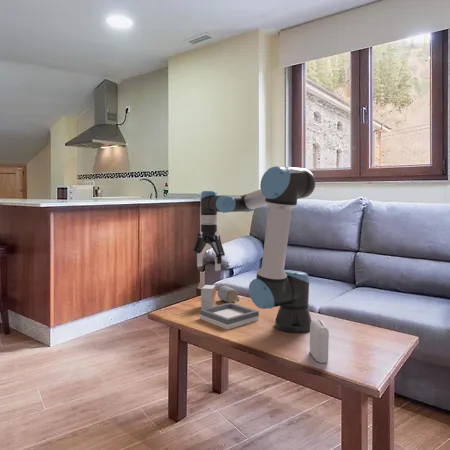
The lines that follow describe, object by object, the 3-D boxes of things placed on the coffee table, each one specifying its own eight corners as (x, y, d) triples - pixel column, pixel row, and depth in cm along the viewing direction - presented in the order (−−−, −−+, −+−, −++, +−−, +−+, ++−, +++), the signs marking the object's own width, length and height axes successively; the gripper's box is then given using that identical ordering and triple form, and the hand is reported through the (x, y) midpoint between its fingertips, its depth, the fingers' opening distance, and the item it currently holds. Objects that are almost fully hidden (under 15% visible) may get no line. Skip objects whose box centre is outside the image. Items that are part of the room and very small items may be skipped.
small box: (212, 311, 179) (212, 288, 178) (200, 310, 180) (201, 288, 179) (216, 306, 187) (216, 285, 186) (204, 305, 188) (204, 284, 187)
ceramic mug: (227, 304, 190) (227, 289, 189) (217, 300, 196) (217, 286, 196) (243, 301, 196) (243, 286, 196) (233, 298, 203) (233, 283, 202)
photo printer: (308, 350, 133) (308, 315, 132) (320, 350, 133) (321, 315, 132) (316, 363, 123) (317, 325, 122) (329, 363, 123) (330, 325, 122)
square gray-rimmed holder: (258, 320, 166) (258, 311, 165) (227, 329, 154) (227, 319, 153) (230, 310, 179) (230, 302, 179) (200, 318, 167) (200, 309, 167)
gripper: (232, 225, 173) (232, 271, 175) (198, 221, 192) (198, 263, 194) (220, 226, 168) (219, 273, 170) (186, 222, 187) (186, 265, 189)
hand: (208, 268), depth 182 cm, fingers open, 13 cm apart
